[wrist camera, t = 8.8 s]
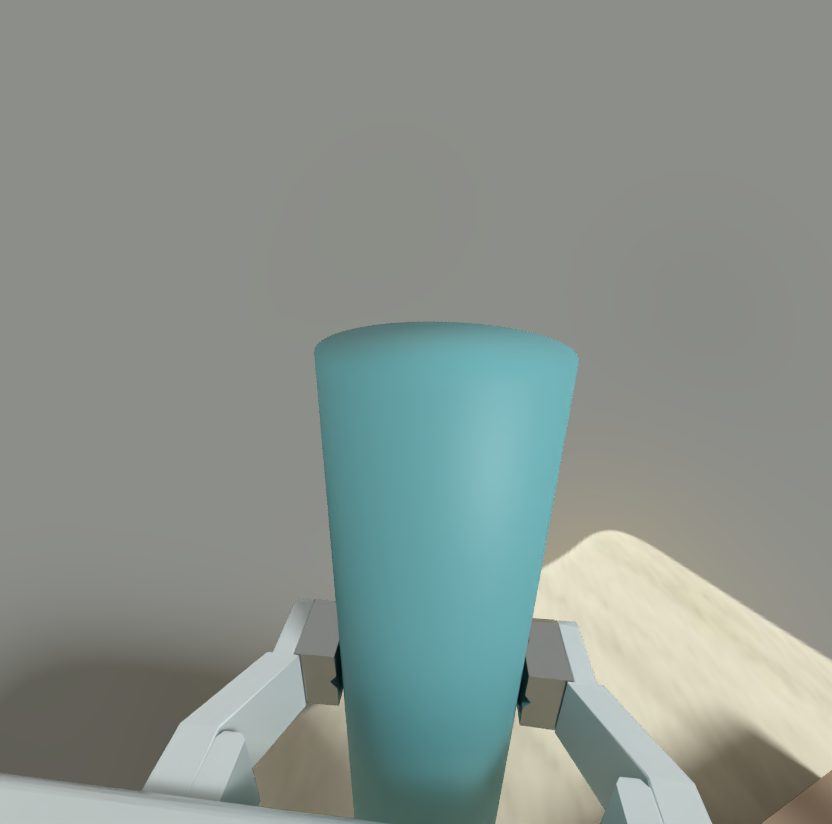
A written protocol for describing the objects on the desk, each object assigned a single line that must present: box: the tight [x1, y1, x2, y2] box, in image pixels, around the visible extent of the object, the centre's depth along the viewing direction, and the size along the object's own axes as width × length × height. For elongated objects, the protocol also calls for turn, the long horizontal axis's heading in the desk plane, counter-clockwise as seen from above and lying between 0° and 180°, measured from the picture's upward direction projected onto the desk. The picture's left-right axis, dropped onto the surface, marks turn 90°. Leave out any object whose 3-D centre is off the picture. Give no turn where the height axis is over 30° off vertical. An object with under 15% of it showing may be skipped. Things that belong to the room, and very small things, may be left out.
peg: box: [314, 322, 579, 824], centre depth 11 cm, size 4×4×18 cm
